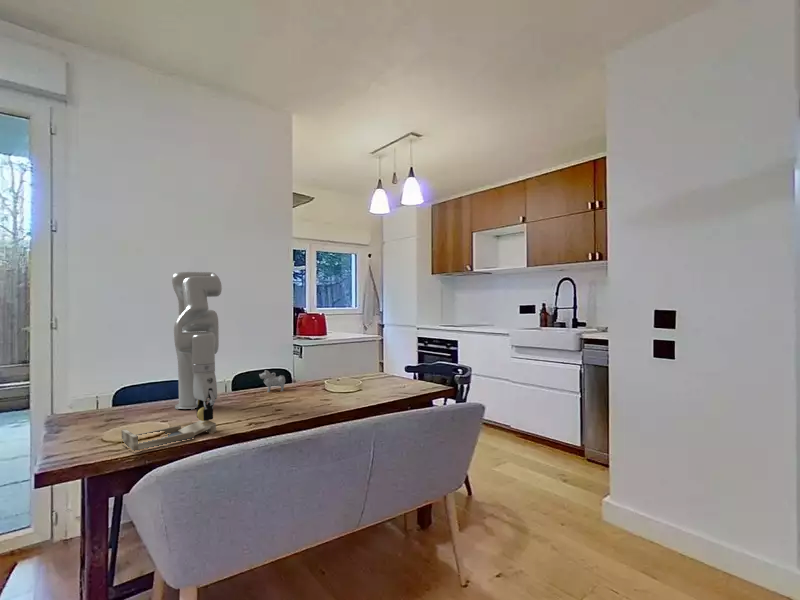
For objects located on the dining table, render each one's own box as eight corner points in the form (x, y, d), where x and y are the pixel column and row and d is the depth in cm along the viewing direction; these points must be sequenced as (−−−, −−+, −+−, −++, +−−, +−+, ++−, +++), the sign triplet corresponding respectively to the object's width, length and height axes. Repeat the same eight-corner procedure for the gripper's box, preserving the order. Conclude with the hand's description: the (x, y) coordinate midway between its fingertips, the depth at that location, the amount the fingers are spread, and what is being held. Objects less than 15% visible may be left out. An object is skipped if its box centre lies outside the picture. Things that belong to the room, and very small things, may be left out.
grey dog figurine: (260, 390, 237) (259, 369, 237) (285, 389, 239) (285, 368, 239) (258, 392, 232) (258, 371, 232) (285, 391, 234) (284, 370, 234)
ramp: (205, 427, 172) (204, 418, 172) (216, 432, 166) (216, 423, 166) (177, 433, 165) (177, 424, 165) (187, 439, 159) (187, 429, 159)
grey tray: (121, 445, 154) (121, 430, 154) (179, 432, 167) (179, 418, 167) (134, 453, 145) (133, 437, 145) (194, 439, 159) (193, 424, 159)
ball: (208, 418, 171) (208, 404, 171) (214, 420, 168) (214, 406, 168) (194, 420, 168) (194, 407, 168) (200, 423, 164) (200, 409, 164)
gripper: (224, 369, 164) (225, 420, 165) (203, 364, 176) (204, 412, 176) (203, 372, 159) (204, 425, 159) (183, 367, 171) (184, 416, 171)
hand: (204, 417), depth 168 cm, fingers closed on ball, 4 cm apart
